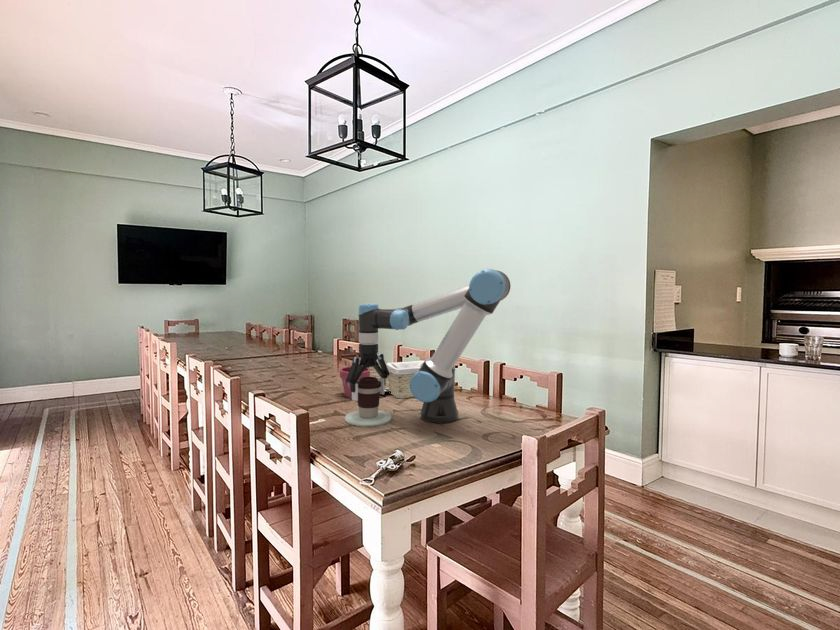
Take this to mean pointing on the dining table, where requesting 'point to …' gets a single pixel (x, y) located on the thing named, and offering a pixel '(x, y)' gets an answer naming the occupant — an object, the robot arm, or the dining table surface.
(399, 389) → the storage basket
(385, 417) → the dish
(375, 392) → the coffee cup
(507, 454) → the dining table surface
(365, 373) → the plant pot
